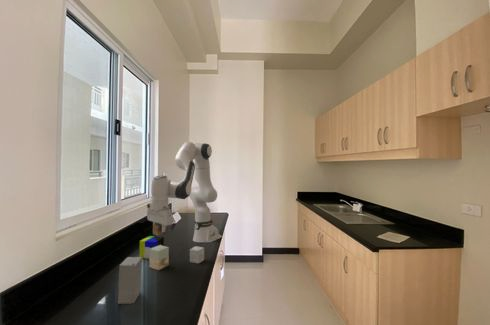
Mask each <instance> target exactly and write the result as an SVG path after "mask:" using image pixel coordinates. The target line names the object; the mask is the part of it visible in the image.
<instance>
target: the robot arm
mask: <svg viewBox="0 0 490 325" xmlns="http://www.w3.org/2000/svg"><path fill="white" fill-rule="evenodd" d="M212 152H213V150H212V146H211V145H210V144H208V143H205V142H204V143H193V142H191V141H185V142H184V143H183V144H182V145H181V146H180V147H179V149H178V151H177V152H176V154H175V158H174V163H175V165H176V167H178V168H179V169H181V170H183V171H185V172H184V176H183V179H182V180H180V181H178V180H176V181H175V180H170V179H169V178H168V176H167V175H155V177H153V178H152V181H151V190H150V191H151V200H150V201H151V202H149V203H147V204H146V208H147V209H146V218H147V221H149V222H152V226H153V225H155V224H162V229H161V232H165V228H166V229H167V226H172V225H173V223H174V219H173V218H174V216H173V212H172V209H171V208H170V207H169V198H170V199H180V200H186V199H187V198H188V197H189V198H190V200H191V201H192V204H193V208H194V225H193V226H194V231H193V237H192V241H193V242H194V243H213V242H214V241H217V240H219V239H222V237H223V235H221V234H220V233H219V231H220V230H219V229H218V228H217V227H215V225H213V224H215V220H214V219H213V220H212V219H211V209H210V207H209V206H208V203H209V204H210V203H213V202H215V201H216V200H217V198H218V191H217V190H216V188H214V186H213V183H212V181H211V167H210V166H211V165H210V158H211V156H212ZM193 179H194V180H195V181H196V182H197V184H198V186H193V187H192V183H193Z"/></svg>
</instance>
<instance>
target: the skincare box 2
mask: <svg viewBox="0 0 490 325" xmlns="http://www.w3.org/2000/svg"><path fill="white" fill-rule="evenodd" d="M203 261H205V247H203V246H198V245H197V246H196V245H195V246H193V247H192V248H190V249H189V262H190V263H194V264H200V263H202V262H203Z"/></svg>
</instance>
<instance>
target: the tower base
mask: <svg viewBox="0 0 490 325" xmlns="http://www.w3.org/2000/svg"><path fill="white" fill-rule="evenodd" d="M169 258H170V257H169V256H168V257H166V258H164V259H161V260H159V261H158V260H154V259H151V258H149V264H148V265H149V268H151V269H153V270H157V271H160V270H162V269H165V268H166V267H168V266H169V265H170V264H169V260H170V259H169Z"/></svg>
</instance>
